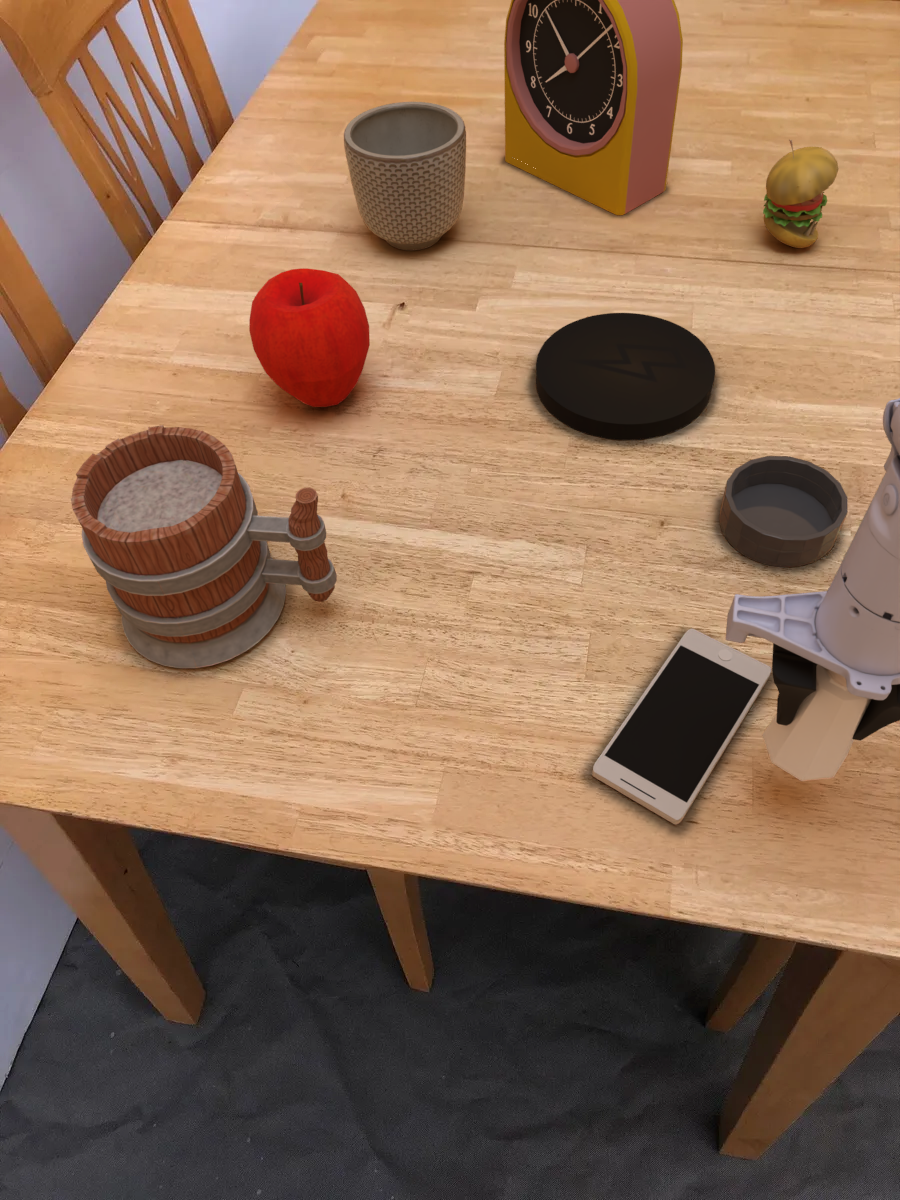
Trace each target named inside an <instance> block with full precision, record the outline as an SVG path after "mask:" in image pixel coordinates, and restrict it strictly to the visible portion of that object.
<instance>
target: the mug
mask: <svg viewBox="0 0 900 1200" xmlns="http://www.w3.org/2000/svg"><path fill="white" fill-rule="evenodd" d="M75 476H76V479H75V482H74V485H73V488H72V491H71V492H72V493H71V497H70V502H71V508H72V511H73V513H74V514H75V517H76V519H77V521H78V523H79V524H80V526H81V538H82V545H83V548H84V550H85V552H86V554H87V556H88V558H89V560H90V562H91V564H92V565H93V567H94V569H95V571H96V572H97V573H98V575H100V577H101V578H102V579H103V580H104V581H105V585H106V591H107V592H108V594H109V596H110V598H111V600H112V602H113V604H114V605H115V607H116V609H117V611H118V612H119V614H120V615H121V625H122V630H123V633H124V635H125V637H126V639H127V641H128V643H129V644H130V646H132V648H133V649H134V650H135V651H136V652H137V653H138V654H139V655H141V656H143V658H145V659H147V660H148V661H151V662H153V663H156V664H158V665H161V666H164V667H170V668H175V669H199V668H205V667H210V666H214V665H215V666H216V665H219V664H222V663H225V662H227V661H230V660H232V659H234V658H235V657H238V656H240V655H242V654H244V653H245V652H247V651H248V650H250V649H252V648H253V647H254V646H255V645H257V644H258V643H260V641H262V639H263V638H264V637H265V636H266V635H267V634H269V633H270V631H272V629H273V627H274V625H275V624H276V622H277V621H278V620H279V618H280V616H281V613H282V611H283V608H284V605H285V600H286V596H287V595H286V594H287V591H286V590H287V589H286V585H287V586H288V585H290V586H301V588H302V589H303V590H304V591H305V592H307V594H308V596H309V597H310V598H311V599H312V601H314V602H316V603H323V602H325V601H327V600H328V599H329V598H330V597H331V595H332V594H333V592H334V590H335V588H336V583H337V581H338V579H337V578H338V575H337V572H336V568H335V566H334V564H333V562H332V560H331V559H330V558H329V556H328V548H327V546H326V542H325V541H326V539H327V529H326V525H325V521H324V519H323V518H322V516H320V515H319V514H318V504H319V503H318V502H319V495H318V492H317V490H315V488H313V487H303V488H300V489H299V490H297V492H296V493H295V495H294V497H295V501H294V503H293V504H292V506H291V508H290V514H289V516H269V515H258V509H257V506H256V503H255V499H254V496H253V493H252V490H251V487H250V485H249V484H248V482H247V480H246V479H245V478H244V476H243V475H242V474H240V473H239V471H238V468H237V465H236V462H235V459H234V456H233V454H232V452H231V451H230V450H229V448H228V447H227V446H226V444H225V443H223V442H222V441H220V440H219V439H218V438H217V437H216V436H213V435H212V434H210V433H208V432H206V431H203V430H200V429H197V428H191V427H182V426H164V424H160V425H155V426H148V427H147V430H143V431H138V432H135V433H132V434H130V435H128V436H124V437H123V438H119V437H118V438H117V439H114V440H113V441H111V442H109V443H108V444H106V445H105V448H103V449H101V450H100V452H98V453H96V454H95V453H92V454H91V455H90V456H88V458H86V460H84V462H83V463H82V464H81V466H80V468H79V469H78V470H77V471H76V473H75ZM268 542H271V543H272V542H273V543H289V544H290V547H292V548H293V549H294V550H295V553H296V554H297V560H293V559H292V560H291V559H278V558H273V557H272V554H271V550H270V547H269V543H268Z"/></svg>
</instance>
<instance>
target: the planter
mask: <svg viewBox="0 0 900 1200" xmlns="http://www.w3.org/2000/svg"><path fill="white" fill-rule="evenodd" d="M343 146H344V147H343V148H344V153H345V159H346V162H347V163H346V164H347V167H348V168H347V169H348V173H349V178H350V182H351V186H352V191H353V195H354V199H355V202H356V206H357V209H358V212H359V215H360V217H361V219H362V221H363V223H364V225H365V226H366V227H367V228H368V230H369V231H370V232H372V233H373V234H374V235H375V236H377V237H378V238H380V239H382V240H383V241H386V243H387V244H388V245H390V246H391V247H393V248H395V249H398V250H402V251H410V252H411V251H420V250H425V249H427V248H430V247H432V246H433V245H435V244H437V243H438V242H439V241H440V239H441V238H442V236H443V235H444V234H446V233H447V232H449V231H450V230H451V229H452V228H453V227H454V225H455V224H456V222H457V221H458V220H459V217H460V215H461V212H462V209H463V204H464V198H465V186H466V185H465V184H466V168H467V167H466V165H467V163H466V162H467V130H466V125H465V121H464V120H463V118H462V117H461V115H460V114H459V113H458V112H456V111H454V110H453V109H451V108H449V107H447V106H445V105H441V104H437V103H433V102H425V101H401V102H392V103H386V104H383V105H379V106H376V107H373V108H369V109H367V110H365V111H362V112H361V113H360V114H358V115H356V116H355V117H354V118H353V119H351V120H350V121H349V122H348V124H347V125H346V126H345V128H344V132H343Z"/></svg>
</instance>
